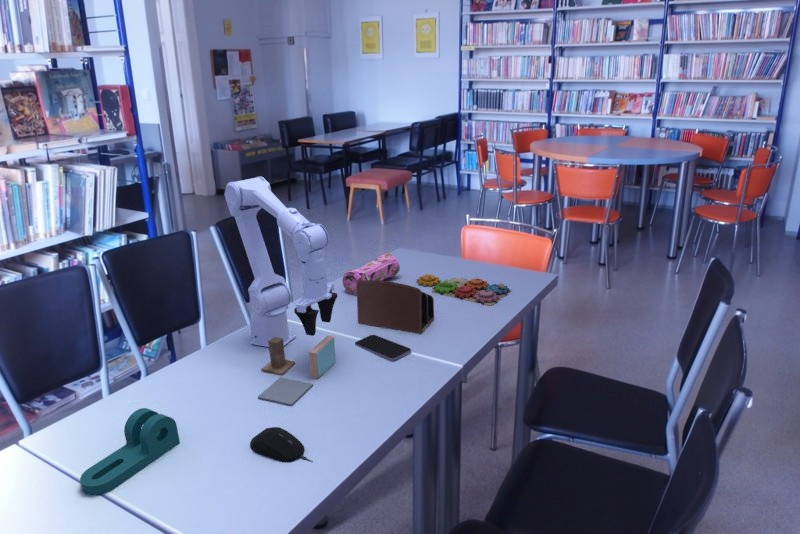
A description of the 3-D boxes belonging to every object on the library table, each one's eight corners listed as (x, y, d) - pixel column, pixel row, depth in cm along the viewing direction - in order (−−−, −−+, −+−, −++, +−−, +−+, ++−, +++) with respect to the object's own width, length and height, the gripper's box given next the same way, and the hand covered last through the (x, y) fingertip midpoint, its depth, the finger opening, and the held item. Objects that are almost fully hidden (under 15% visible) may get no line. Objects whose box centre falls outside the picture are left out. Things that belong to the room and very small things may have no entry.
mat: (257, 398, 131) (257, 396, 131) (280, 379, 139) (280, 377, 138) (291, 406, 127) (291, 404, 127) (313, 385, 135) (312, 383, 135)
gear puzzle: (406, 288, 192) (406, 277, 190) (433, 274, 204) (433, 263, 203) (491, 308, 174) (491, 296, 173) (514, 291, 186) (515, 279, 185)
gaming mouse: (302, 473, 107) (300, 455, 106) (244, 449, 114) (241, 432, 113) (323, 454, 112) (321, 436, 111) (266, 432, 120) (264, 415, 118)
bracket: (157, 434, 120) (150, 401, 117) (180, 444, 117) (173, 410, 114) (74, 489, 105) (64, 452, 102) (98, 501, 102) (88, 464, 99)
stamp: (261, 371, 142) (258, 343, 140) (275, 360, 148) (272, 332, 145) (282, 376, 140) (279, 347, 138) (295, 364, 145) (292, 336, 143)
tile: (311, 378, 139) (308, 352, 136) (329, 360, 147) (327, 335, 144) (318, 379, 138) (315, 353, 136) (336, 361, 146) (334, 336, 143)
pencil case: (363, 299, 183) (361, 273, 180) (341, 293, 189) (339, 267, 186) (402, 278, 200) (401, 253, 197) (380, 273, 205) (379, 249, 202)
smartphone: (372, 333, 159) (412, 349, 149) (373, 337, 160) (413, 353, 149) (352, 343, 154) (392, 359, 144) (353, 346, 155) (393, 363, 144)
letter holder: (421, 335, 159) (420, 287, 154) (357, 324, 166) (354, 278, 162) (434, 320, 167) (434, 274, 162) (373, 310, 175) (370, 266, 170)
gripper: (313, 289, 130) (318, 343, 134) (343, 267, 142) (346, 318, 147) (286, 285, 132) (291, 338, 137) (318, 264, 145) (322, 314, 150)
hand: (318, 328), depth 142 cm, fingers open, 7 cm apart
